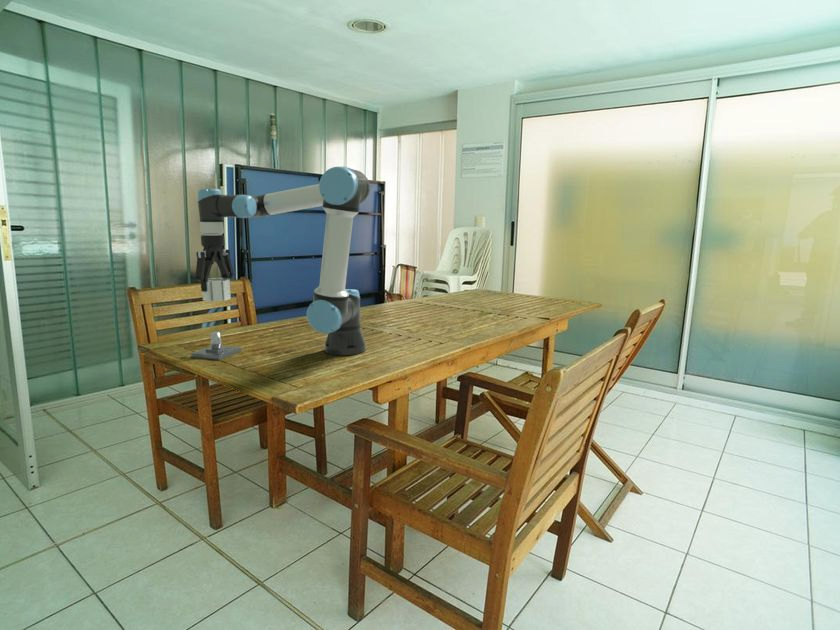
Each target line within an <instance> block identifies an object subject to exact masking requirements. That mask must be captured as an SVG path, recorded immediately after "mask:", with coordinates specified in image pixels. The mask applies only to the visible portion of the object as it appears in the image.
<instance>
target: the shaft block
mask: <svg viewBox="0 0 840 630" xmlns="http://www.w3.org/2000/svg"><path fill="white" fill-rule="evenodd" d="M209 335H210V346H207V347H204V348H202V349H200V350H197V351H193V352H191V353H190V354H191V355H190V356H191V358H193V359H194V358H196V359H206V360H213V361H214V360H215V361H221V360H223V359H226V358H228V357H230V356H233V355H236V354H238V353H241V352H243V350H242V346H234V345H233V346H232V345H222V338H221V337H222V335H221V331H212V332H210V333H209Z"/></svg>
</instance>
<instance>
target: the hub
mask: <svg viewBox="0 0 840 630" xmlns="http://www.w3.org/2000/svg"><path fill="white" fill-rule="evenodd" d="M230 280H231V278H230V279H228V278H223V277H212V278H211V277H210V278H209V277H208V281H207V282H210V296H211V301H210V302H223V301H229V300H231V299H232V295H231V294H232V293H231V284H230V283H231V281H230Z"/></svg>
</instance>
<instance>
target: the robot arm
mask: <svg viewBox="0 0 840 630" xmlns="http://www.w3.org/2000/svg"><path fill="white" fill-rule="evenodd" d="M319 179H320V180H319V182H318V183H317V184H311V185H307V186H301V187H296V188H291V189H285V190H280V191H276V192H271V193H270V192H269V193H266V194H259V195H248V194H222V191H221V189H219V188H218V189H217V188H199V189H198V191H197V205H198V206H197V207H198V214H199V227H200V231H199V232H200V234H201V236H200V244H201V246H202V247H203V249H202V251H196V268H195V281H196V282H198V283H200V288H201V289H200V291H201V293H202V301H204V302H212V301H211V296H210V282H207V281H208V278H209V277H210V273H211V270H212V267H213V265H214V263H216V264H217V267H218V269H219V271H220V274H221V276H222V278H228V279H230V280H231V279H232V278H233V277H234V275H235V274H234V270H233V266H232V260H231V255H230V253H231V252H230V249H224V246H225V236H224V235H223V234H224V233H225V229H224V227H225V225H224V218H238V219H239V218H241V219H249V218H258V219H263V218H267V217H269V216H273V215H278V214H283V213H289V212H290V213H291V212H295V211H301V210H306V209H312V208H318V207H322V209H323V210H324V212H325V213H326V217H325V228H324V235H323V236H324V237H323V246H322V257H321V258H322V259H321V265H320V275H319V276H320V277H319V285H318V287H316V288H315V289H314V290H313V299H312V300H313V301H312V302H311V303H310V304H309V306H308V307H307V310H306V320H307V322H308V324H309V325H310V326H311V328H312V329H313V330H315V332H317V333H321V334H327V336H326V340H325V343H324V352H325V354H328V355H332V356H353V355H357V354H361V353H364V352H366V350H367V345H366V344H367V343H366V341H365V338H364V335H363V332H362V330H361V329H362V328H361V327H362V326H361V295H360V292H359V290H358V289H355V288H353V289H351V288H348V289H347V288H346V284H347V274H348V266H349V257H350V249H351V240H352V231H353V225H354V224H353V223H354V218H355V217H356V216H357V215H358V214H359V212H360V205H361V204H362V203H363V202H364V201H366V199H367V198H368V196H369V194H370V190H371V185H370V182H369V180H368V177H367V176H366V174H364V173H363V172H361V170H356V169H353V168H351V167H346V166H333V167H330V168H328V169H327V170H326V171H324V173H322V176H321V177H320V178H319Z"/></svg>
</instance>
